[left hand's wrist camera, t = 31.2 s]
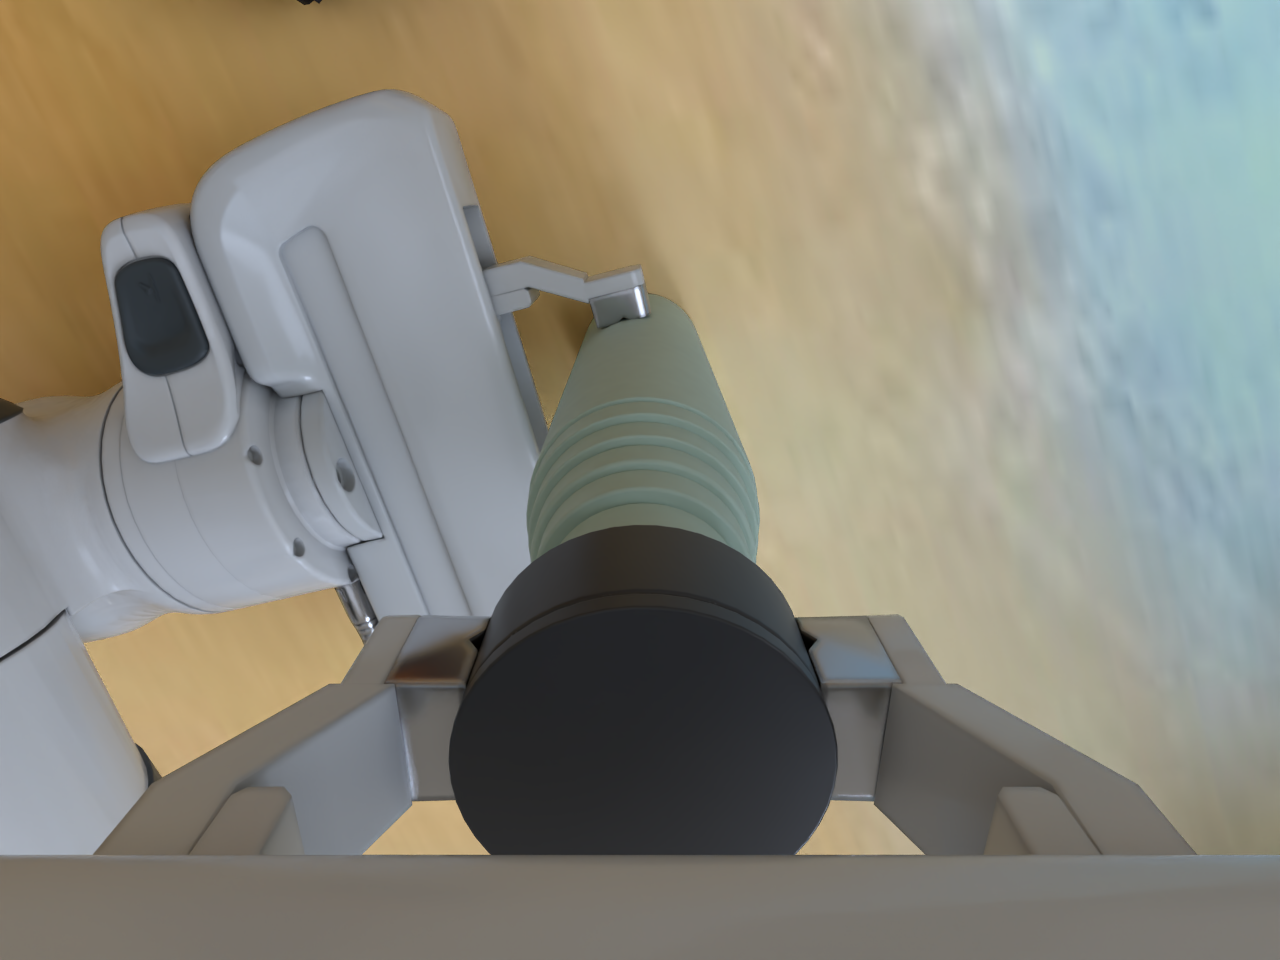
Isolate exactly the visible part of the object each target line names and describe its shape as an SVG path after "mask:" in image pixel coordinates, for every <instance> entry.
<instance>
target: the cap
mask: <svg viewBox="0 0 1280 960" xmlns="http://www.w3.org/2000/svg"><path fill="white" fill-rule="evenodd" d="M448 762H449V772H450V781H451V785H452V789H453V792H454V796H455V800H456V803H457V805H458V807H459V809H460V812H461V814H462V816H463V818H464V820H465V822H466V823H467V825H468V827H469V828H470V830H471V831H472V833H473V834H474V836H475V837H476V839H477V840H478V841H479V842H480V843H481V844H482V846H483V847H484V848H485V849H486V850H487V851H488V853H490V854H491V855H795V854H796V853H797V852H798V851H799V850H800V849H801V848H802V847H803V846H804V845H805V843H806V842H807V841H808V840H809V839H810V837H811V836H812V834H813V833H814V831H815V830H816V828H817V827H818V826H819V824H820V822H821V820H822V818H823V816H824V814H825V812H826V810H827V808H828V806H829V803H830V800H831V797H832V794H833V791H834V787H835V782H836V775H837V769H838V745H837V740H836V734H835V729H834V724H833V722H832V719H831V716H830V714H829V711H828V708H827V705H826V703H825V700H824V697H823V694H822V692H821V689H820V686H819V684H818V681H817V678H816V675H815V673H814V670H813V667H812V664H811V662H810V659H809V656H808V653H807V651H806V648H805V645H804V642H803V640H802V637H801V634H800V631H799V629H798V626H797V623H796V620H795V618H794V615H793V612H792V610H791V608H790V606H789V605H788V603H787V601H786V599H785V597H784V595H783V594H782V592H781V591H780V590H779V589H778V587H777V586H776V585H775V583H774V582H773V581H772V579H771V578H770V577H769V576H768V575H767V574H766V573H765V572H764V571H763V570H761V569H760V568H759V567H758V566H757V565H756V564H755V563H754V562H752V561H751V560H750V559H748V558H747V557H745V556H744V555H743V554H741V553H740V552H738V551H736V550H735V549H733V548H731V547H729V546H727V545H726V544H724V543H722V542H720V541H717V540H715V539H712V538H710V537H707V536H705V535H703V534H699V533H695V532H692V531H688V530H684V529H680V528H674V527H666V526H659V525H628V526H619V527H610V528H607V529H602V530H598V531H593V532H590V533H587V534H584V535H581V536H579V537H576V538H573V539H570V540H568V541H566V542H564V543H562V544H560V545H558V546H556V547H554V548H552V549H550V550H549V551H547V552H546V553H545V554H543V555H542V556H540V557H539V558H537V559H536V560H534V561H533V562H532V563H531V564H530V565H528V566H527V567H526V568H525V569H524V570H523V571H522V572H521V573H520V574H519V575H518V576H517V577H516V578H515V579H514V580H513V582H512V583H511V584H510V585H509V586H508V588H507V589H506V590H505V592H504V593H503V595H502V597H501V598H500V600H499V602H498V603H497V605H496V606H495V609H494V611H493V614H492V616H491V619H490V622H489V624H488V627H487V630H486V633H485V636H484V638H483V641H482V643H481V646H480V649H479V652H478V656H477V659H476V662H475V665H474V667H473V670H472V673H471V676H470V679H469V682H468V684H467V687H466V690H465V692H464V695H463V697H462V700H461V704H460V706H459V709H458V712H457V715H456V717H455V720H454V724H453V729H452V733H451V737H450V743H449V759H448Z"/></svg>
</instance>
